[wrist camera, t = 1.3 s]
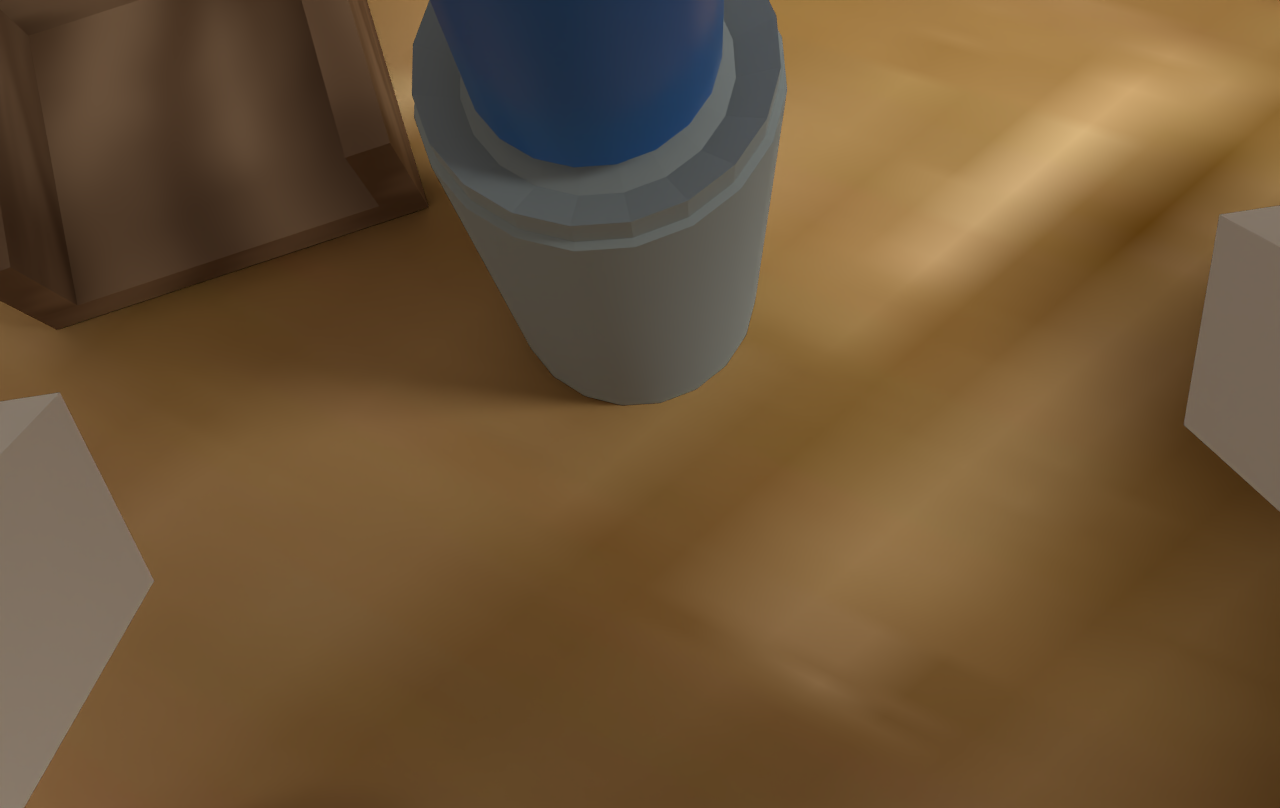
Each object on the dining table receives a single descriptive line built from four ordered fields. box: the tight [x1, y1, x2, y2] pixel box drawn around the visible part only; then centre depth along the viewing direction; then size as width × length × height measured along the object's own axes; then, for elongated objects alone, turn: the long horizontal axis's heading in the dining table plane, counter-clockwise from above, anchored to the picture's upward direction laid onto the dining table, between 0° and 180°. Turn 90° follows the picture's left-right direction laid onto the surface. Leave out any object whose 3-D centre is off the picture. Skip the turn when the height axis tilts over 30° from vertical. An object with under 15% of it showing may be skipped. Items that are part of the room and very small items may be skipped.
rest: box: [0, 0, 428, 330], centre depth 37 cm, size 15×14×5 cm
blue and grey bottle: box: [412, 0, 787, 405], centre depth 24 cm, size 9×9×25 cm
